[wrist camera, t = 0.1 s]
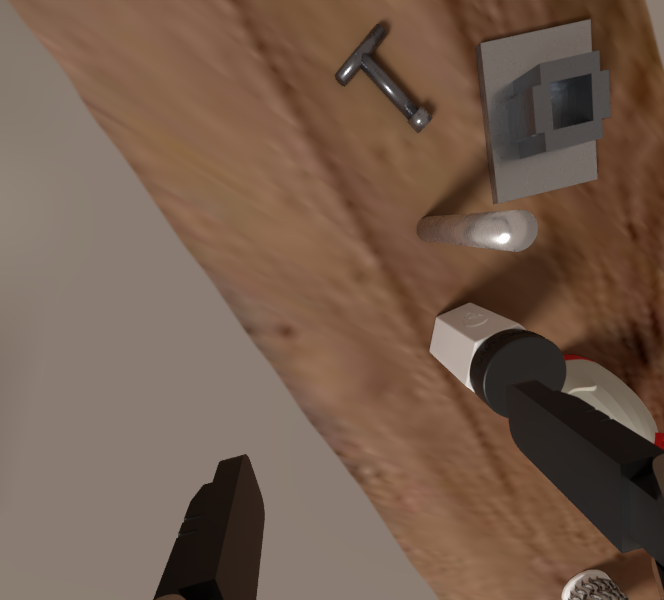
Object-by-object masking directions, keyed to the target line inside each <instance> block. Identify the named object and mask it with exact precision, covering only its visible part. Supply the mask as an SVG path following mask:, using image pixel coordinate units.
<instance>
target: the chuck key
mask: <svg viewBox="0 0 664 600" xmlns="http://www.w3.org/2000/svg"><path fill="white" fill-rule="evenodd" d="M385 37H386V33H385V30H384V29H383V27H382V26H381V25H379V24H376V25H375V27H374V28H373V29H372V30H371V31H370V33H369V34H368V35H367V36H366V38H365V39H364V40H363V41H362V42H361V44H360V45H359V46H358V47H357V48H356V50H355V51H354V52H353V53H352V55H351V56H350V57H349V58H348V59H347V61H346V62H345V63H344V64H343V65H342V67H341V68H340V69H339V70H338V72H337V73H336V74H335V78H336V80H337V81H338V82H339V83H340V84H341V85H342V86H346V84H347V83H348V82H349V81H350V79H351V78H352V77H353V76H354V75H355V73H356V72H357V71H358V70H359V69H360V68H361V69H362V70H363V71H364V72H365V74H366V75H367V76H368V77H369V78H370V79H371V80H372V81H373V82H374V83H375V84H376V86H377V87H378V88H379V89H380V90H381V91H382V92H383V93H384V94H385V95H386V96H387V97H388V99H389V100H390V101H391V102H392V103H393V104H394V105H395V106H396V107H397V108H398V109H399V110H400V112H401V113H402V114H403V115H404V116H405V117H406V118H407V119H408V121H407V122H408V123H409V124H410V125H411V126H412V127H413V129H414V130H415V131H416V132H417V133H419V132H420V131H421V130H422V129H423V128H424V127H425V126H426V125H427V124H428V123H429V122H430V120H431V119H432V118H433V117H432V116H431V115H430V114H429V112H428V111H427V110H426V109H425V108H424V107H423V106H421V107H420V108H418V107H417V106H416V105H415V104H414V103H413V102H412V101H411V100H410V99H409V97H408V96H407V95H406V94H405V93H404V92H403V91H402V90H401V89H400V87H399V86H398V85H397V84H396V83H395V82H394V81H393V80H392V79H391V77H390V76H389V75H388V74H387V73H386V72H385V71H384V70H383V69H382V67H381V66H380V65H379V64H378V63H377V62H376V61H375V60H374V59H373V58H372V56H371V54H372V53H373V52H374V51H375V49H376V48H377V47H378V46H379V45H380V43H381V42H382V41H383V40H384V39H385Z"/></svg>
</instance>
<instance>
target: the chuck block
mask: <svg viewBox="0 0 664 600" xmlns="http://www.w3.org/2000/svg"><path fill="white" fill-rule="evenodd" d="M475 50H476V58H477V67H478V76H479V84H480V93H481V102H482V111H483V119H484V128H485V137H486V145H487V154H488V163H489V172H490V180H491V189H492V198H493V204H498V203H502V202H506V201H510V200H514V199H518V198H522V197H527V196H531V195H535V194H539V193H543V192H547V191H551V190H555V189H559V188H563V187H567V186H571V185H575V184H579V183H584V182H588V181H592V180H596V179H597V159H596V140H598V139H601V138H603V131H602V119H605V118H608V117H611V116H610V85H609V69H608V70H604V71H600V51H599V50H598V51H593V52H592V41H591V19H589V20H585V21H580V22H576V23H571V24H566V25H562V26H557V27H553V28H548V29H544V30H539V31H534V32H530V33H525V34H521V35H516V36H511V37H507V38H502V39H498V40H493V41H489V42H484V43H480V44H479V45H478V46H477V47H476V48H475Z"/></svg>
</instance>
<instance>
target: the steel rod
mask: <svg viewBox="0 0 664 600" xmlns="http://www.w3.org/2000/svg"><path fill="white" fill-rule="evenodd" d="M537 232H538V224H537V221H536V219H535V217H534V216H533V215H532V214H531V213H530V212H528V211H525V210H512V211H498V212H484V213H470V214H456V215H442V216H428V217H424V218H422V219H421V220H420V221H419V223H418V225H417V235H418V236H419V238H420V239H421V240H423V241H428V242H437V243H445V244H454V245H462V246H471V247H479V248H488V249H497V250H505V251H514V252H518V251H522V250H525V249H527V248H528V247H529V246H530V245H531V244H532V243H533V242H534V240H535V238H536V236H537Z"/></svg>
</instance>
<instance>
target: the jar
mask: <svg viewBox="0 0 664 600" xmlns="http://www.w3.org/2000/svg"><path fill="white" fill-rule="evenodd" d="M430 353H431V354H432V355H433V356H434V357H435V358H436V359H438V360H439V361H440V362H441V363H442V364H443V365H444V366H445V367H446V368H447V369H448V370H449V371H450V372H451V373H453V374H454V375H455V376H456V377H457V378H458V379H459V380H460V381H461V382H462V383H463V384H464V385H465V386H467V387H468V388H469V389H471V390H472V391H473V392H475V393H476V395H477V396H478V397H479V398H480V399H481V400H482V401H483V402H485V403H486V404H487V405H488V406H489V407H490V408H491V409H492V410H493V411H494V412H496V413H497V414H499V415H501V416H503V417H506V418H508V409H507V400H506V387H507V385H510V384H513V383H517V382H521V381H525V380H528V379H535V380H537V381H539V382H540V383H542V384H543V385H545V386H546V387H548V388H550V389H551V390H553V391H556V390H558V391H562V389H563V386H564V383H565V380H566V372H567V369H566V362H565V359H564V356H563V354H562V352H561V351H560V349H559V348H558V347H557V346H556V345H555V344H554V343H553V342H551V341H549V340H548V339H545V337H543V336H541V335H539V334H536V333H534V332H531V331H527V330H526V329H525V328H524V327H523V326H521V325H520V324H519V323H517V322H514V321H512V320H510V319H508V318H505V317H503V316H501V315H498V314H496V313H494V312H491V311H489V310H487V309H484V308H482V307H480V306H478V305H475V304H473V303H467V304H465V305H463V306H460V307H458V308H456V309H453V310H451V311H449V312H446V313H444V314H442V315H439V316H437V317H436V321H435V326H434V331H433V336H432V341H431V346H430Z"/></svg>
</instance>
